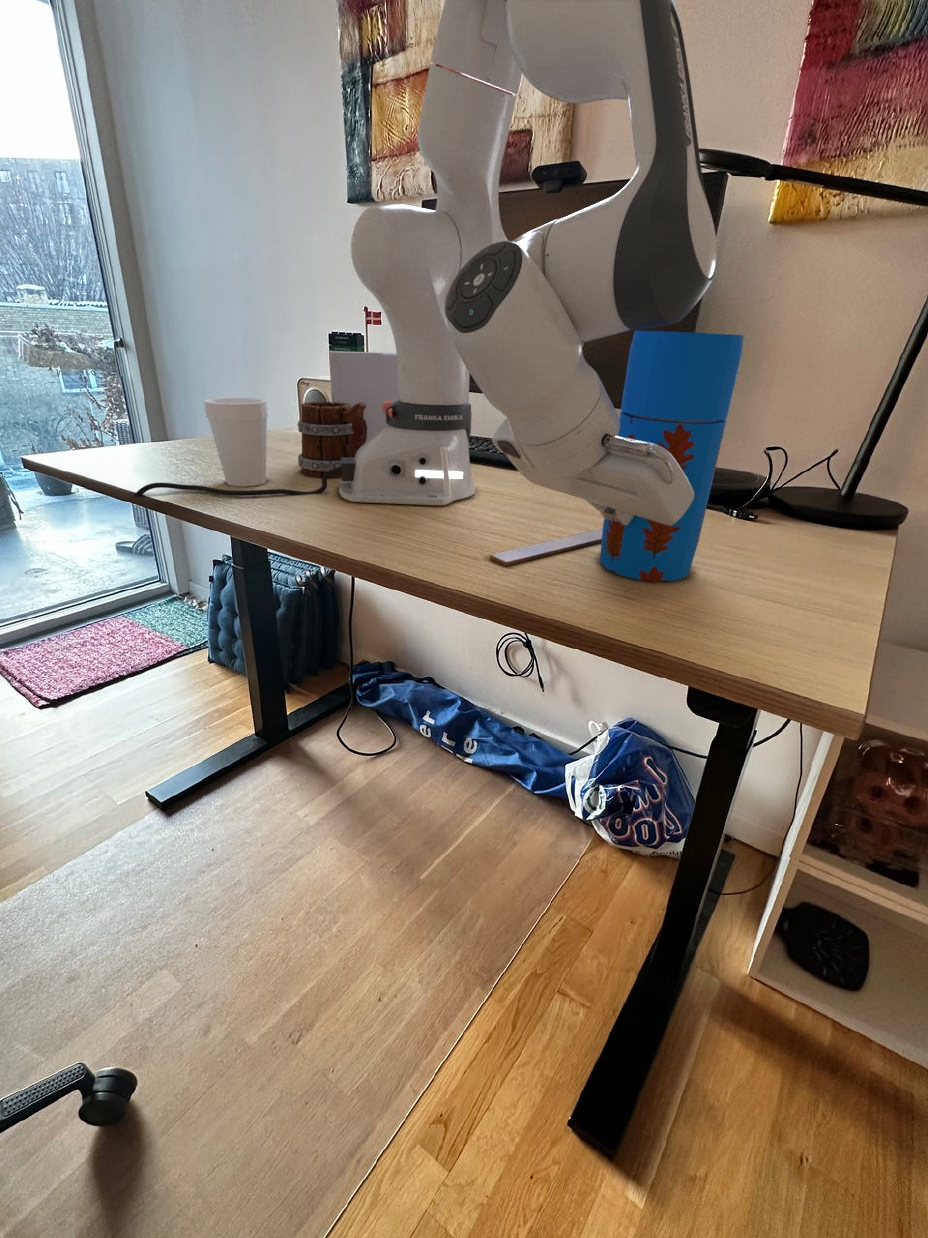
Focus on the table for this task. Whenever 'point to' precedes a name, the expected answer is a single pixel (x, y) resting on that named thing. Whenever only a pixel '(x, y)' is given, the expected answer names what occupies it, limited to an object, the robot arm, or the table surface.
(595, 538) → the ruler
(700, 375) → the thermos
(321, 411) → the mug
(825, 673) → the table surface
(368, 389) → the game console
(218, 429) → the foam cup
